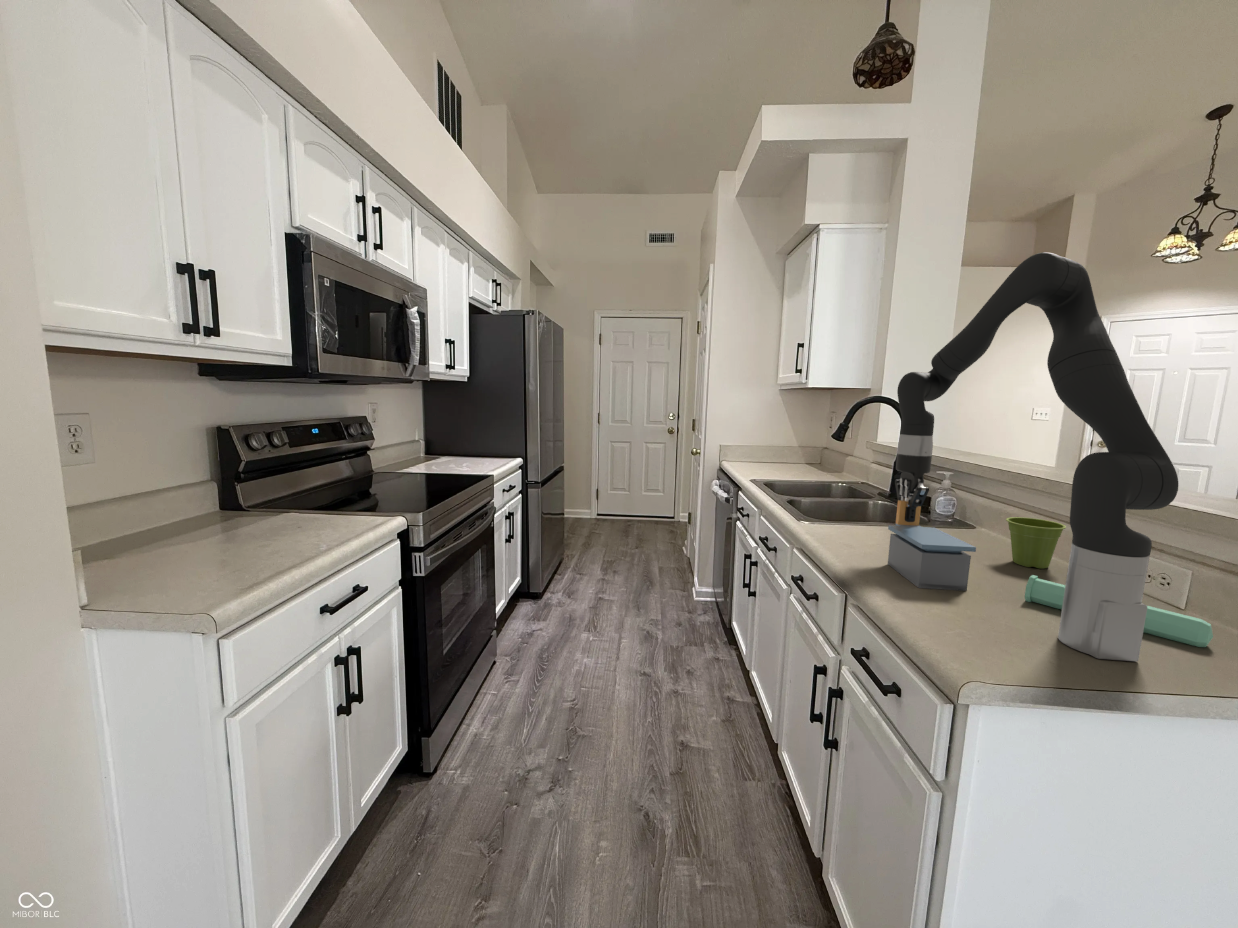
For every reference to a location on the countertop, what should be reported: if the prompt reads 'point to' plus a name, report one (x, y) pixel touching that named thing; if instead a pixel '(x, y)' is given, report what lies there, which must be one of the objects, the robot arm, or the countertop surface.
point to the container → (1155, 622)
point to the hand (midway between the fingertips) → (907, 520)
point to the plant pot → (1033, 540)
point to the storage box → (929, 565)
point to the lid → (926, 534)
